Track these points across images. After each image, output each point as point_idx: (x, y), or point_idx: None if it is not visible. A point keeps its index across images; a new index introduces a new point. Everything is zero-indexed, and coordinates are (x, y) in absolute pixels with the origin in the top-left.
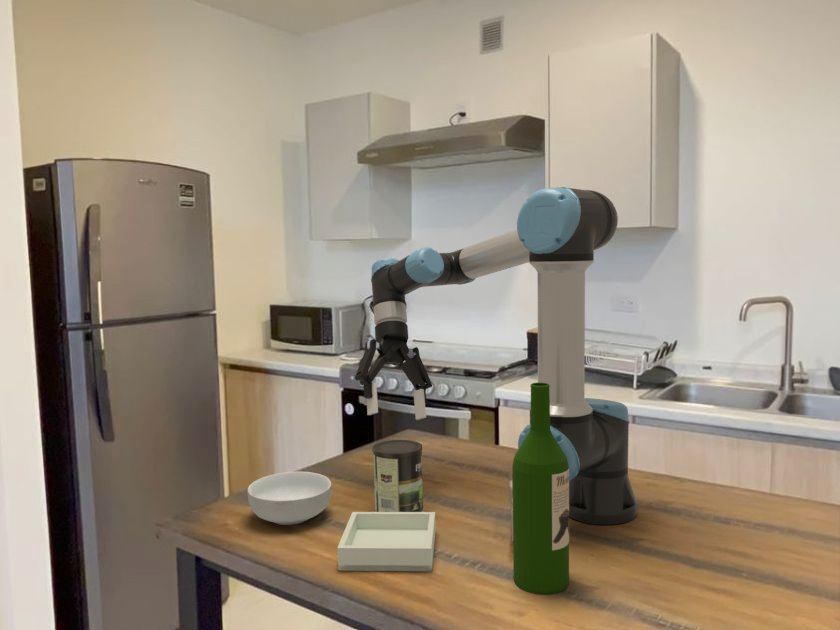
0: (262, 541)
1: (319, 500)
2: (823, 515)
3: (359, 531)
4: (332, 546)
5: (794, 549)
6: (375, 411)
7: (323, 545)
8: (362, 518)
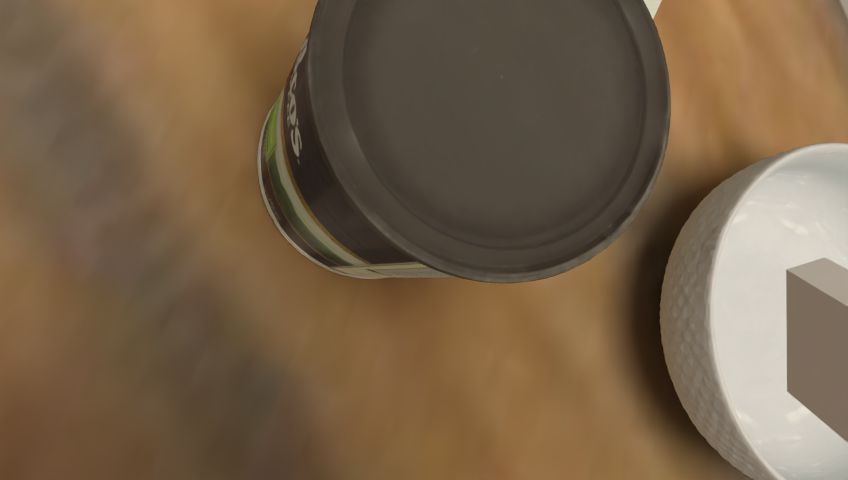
0: None
1: (752, 167)
2: None
3: None
4: (673, 4)
5: None
6: (827, 264)
7: (695, 28)
8: None
